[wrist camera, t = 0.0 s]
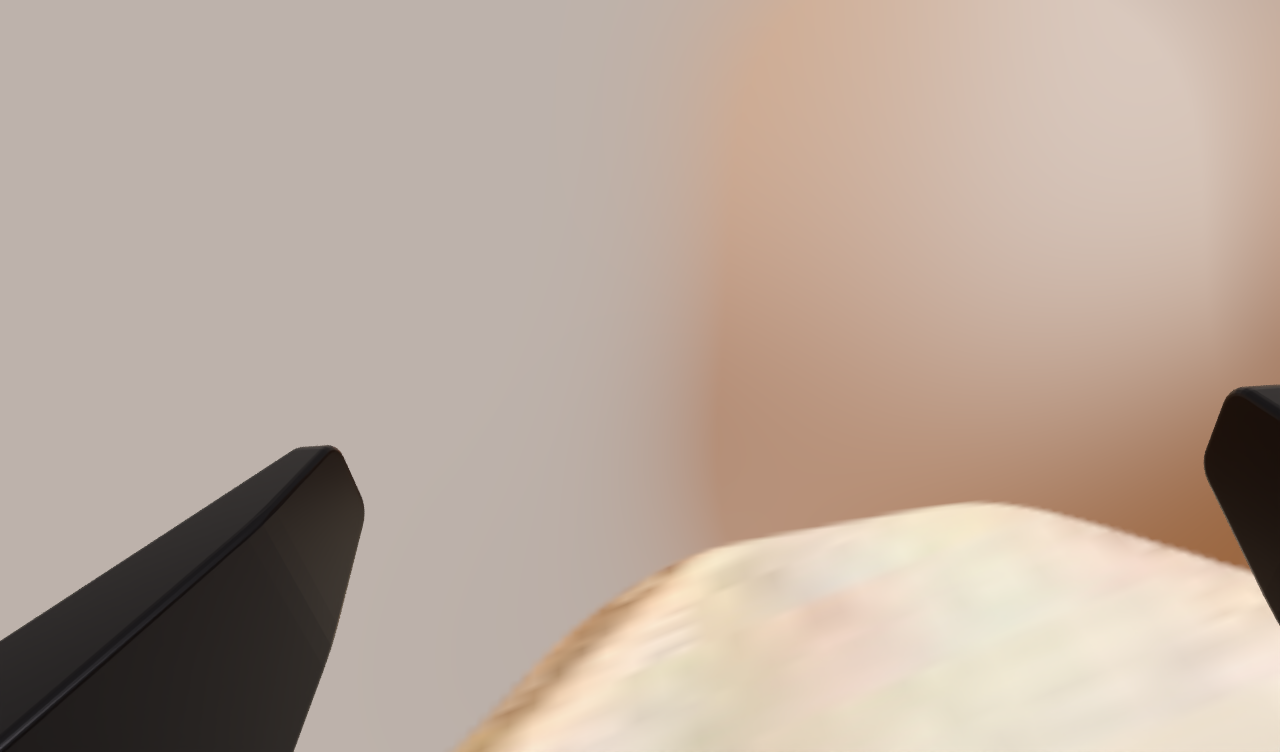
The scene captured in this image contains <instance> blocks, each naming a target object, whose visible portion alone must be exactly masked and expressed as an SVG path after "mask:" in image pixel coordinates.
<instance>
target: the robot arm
mask: <svg viewBox="0 0 1280 752" xmlns="http://www.w3.org/2000/svg"><path fill="white" fill-rule="evenodd" d="M1204 470H1205V474H1206V477H1207V480H1208V482H1209V484H1210V487H1211V488H1212V491H1213V493H1214V495H1215V497H1216V499H1217V501H1218V503H1219V505H1220V507H1221V509H1222V511H1223V513H1224V515H1225V517H1226V519H1227V522H1228V523H1229V526H1230V527H1231V530H1232V532H1233V534H1234V536H1235V538H1236V540H1237V542H1238V544H1239V546H1240V548H1241V550H1242V552H1243V554H1244V556H1245V559H1246V561H1247V562H1248V565H1249V567H1250V569H1251V571H1252V573H1253V575H1254V577H1255V579H1256V581H1257V583H1258V585H1259V587H1260V589H1261V591H1262V594H1263V596H1264V597H1265V599H1266V601H1267V603H1268V605H1269V607H1270V609H1271V611H1272V612H1273V614H1274V616H1275V618H1276V620H1277V622H1278V623H1279V625H1280V385H1266V386H1265V385H1264V386H1249V387H1240V388H1237V389H1235V390H1233V391H1232V392H1231V393H1230V394H1229V395H1228V396H1227V397H1226V399H1225V401H1224V403H1223V406H1222V408H1221V411H1220V414H1219V416H1218V419H1217V422H1216V424H1215V427H1214V430H1213V432H1212V435H1211V438H1210V440H1209V443H1208V446H1207V448H1206V451H1205V455H1204ZM363 522H364V504H363V500H362V497H361V495H360V492H359V490H358V488H357V486H356V484H355V481H354V479H353V477H352V475H351V472H350V470H349V468H348V466H347V464H346V462H345V460H344V457H343V456H342V453H341V452H340V451H339V450H338V449H337V448H336V447H333V446H329V445H325V446H309V447H300V448H296V449H294V450H292V451H291V452H289V453H288V454H286V455H285V456H283V457H282V458H280V459H279V460H277V461H275V462H274V463H272V464H271V465H269V466H268V467H266V468H265V469H263V470H262V471H260V472H259V473H257V474H255V475H254V476H252V477H251V478H249V479H248V480H246V481H245V482H243V483H242V484H240V485H239V486H237V487H236V488H234V489H233V490H231V491H230V492H228V493H227V494H225V495H223V496H222V497H220V498H219V499H217V500H216V501H214V502H213V503H211V504H210V505H208V506H207V507H205V508H204V509H202V510H200V511H199V512H197V513H196V514H194V515H193V516H191V517H190V518H188V519H187V520H185V521H184V522H182V523H181V524H179V525H177V526H176V527H174V528H173V529H171V530H170V531H168V532H167V533H165V534H164V535H162V536H160V537H159V538H158V539H156V540H154V541H153V542H151V543H150V544H148V545H147V546H145V547H144V548H142V549H141V550H139V551H138V552H136V553H134V554H133V555H131V556H130V557H128V558H127V559H125V560H124V561H122V562H121V563H119V564H118V565H116V566H114V567H113V568H111V569H110V570H108V571H107V572H105V573H104V574H102V575H101V576H99V577H98V578H96V579H95V580H93V581H91V582H90V583H88V584H87V585H85V586H84V587H82V588H81V589H79V590H78V591H76V592H75V593H73V594H72V595H70V596H69V597H67V598H66V599H64V600H62V601H61V602H59V603H58V604H56V605H55V606H53V607H52V608H50V609H49V610H47V611H46V612H44V613H43V614H41V615H39V616H38V617H36V618H35V619H33V620H32V621H30V622H29V623H27V624H26V625H24V626H23V627H21V628H19V629H18V630H16V631H15V632H13V633H12V634H10V635H9V636H7V637H6V638H4V639H3V640H1V641H0V752H294V749H295V746H296V744H297V741H298V738H299V735H300V733H301V730H302V727H303V724H304V722H305V719H306V716H307V714H308V711H309V708H310V705H311V703H312V700H313V697H314V694H315V692H316V689H317V687H318V684H319V681H320V678H321V676H322V673H323V670H324V667H325V664H326V662H327V659H328V656H329V653H330V650H331V647H332V644H333V640H334V637H335V633H336V629H337V626H338V622H339V618H340V614H341V610H342V606H343V602H344V598H345V594H346V590H347V587H348V582H349V578H350V575H351V571H352V567H353V563H354V559H355V555H356V551H357V547H358V542H359V539H360V534H361V531H362V527H363Z"/></svg>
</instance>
